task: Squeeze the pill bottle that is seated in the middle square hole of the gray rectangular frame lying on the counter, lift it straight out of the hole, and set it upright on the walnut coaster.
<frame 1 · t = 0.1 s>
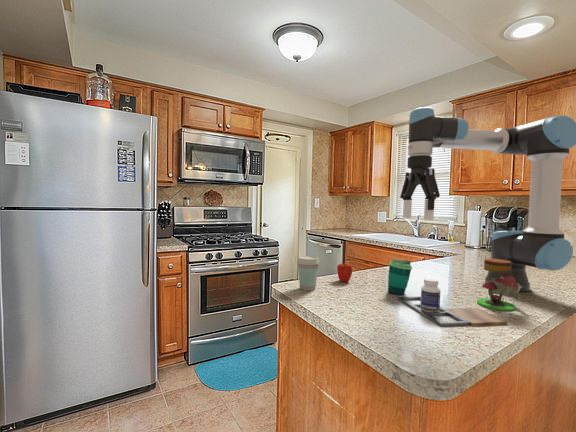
hand: (417, 219, 102), 28 cm above the countertop, fingers open, 13 cm apart
pill bottle: (429, 311, 94), resting in gray rectangular frame
coffee cup: (307, 289, 115), on the countertop
red bell pepper: (344, 281, 127), on the countertop
gray rectangular frame: (429, 310, 93), on the countertop
coaster: (474, 317, 89), on the countertop
mushroom toy: (497, 306, 100), on the countertop
cup: (399, 293, 112), on the countertop
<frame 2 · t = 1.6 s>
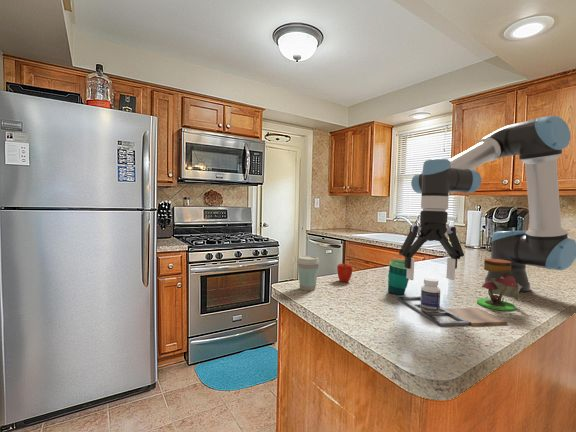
hand: (430, 279, 93), 10 cm above the countertop, fingers open, 13 cm apart
nothing on the countertop moved.
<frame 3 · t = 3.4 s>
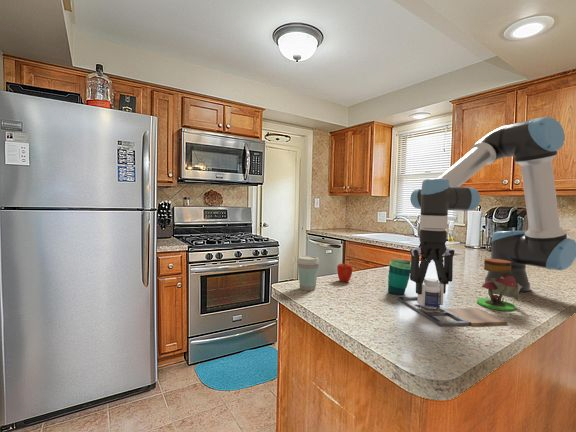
hand: (430, 303, 93), 2 cm above the countertop, fingers closed on pill bottle, 5 cm apart
pill bottle: (429, 311, 94), resting in gray rectangular frame, touching gripper
everything else where it was.
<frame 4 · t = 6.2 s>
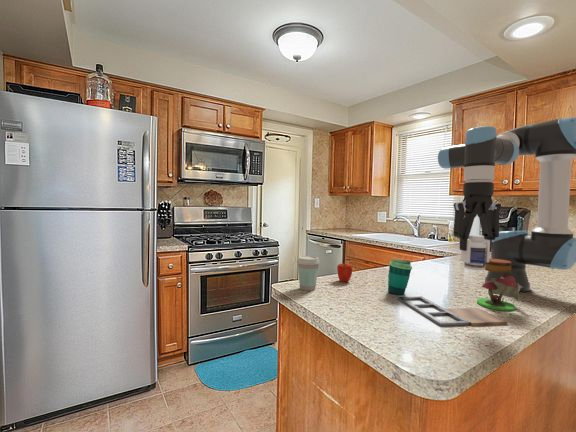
hand: (474, 261, 88), 17 cm above the countertop, fingers closed on pill bottle, 5 cm apart
pill bottle: (474, 269, 88), point 14 cm above the countertop, touching gripper
everything else where it was.
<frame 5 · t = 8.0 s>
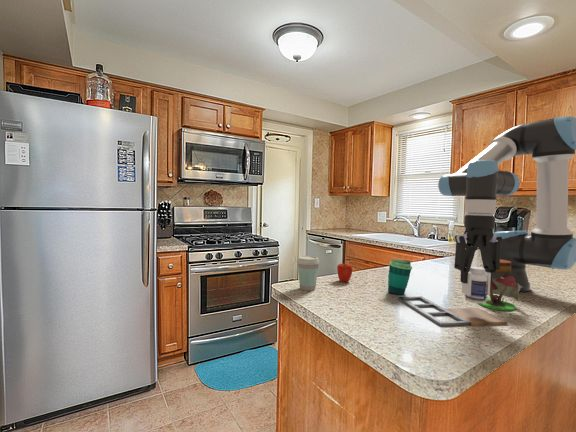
hand: (475, 293, 88), 7 cm above the countertop, fingers closed on pill bottle, 5 cm apart
pill bottle: (475, 301, 88), point 5 cm above the countertop, touching gripper
everything else where it was.
when the fingers open (4 cm above the countertop, at t = 9.3 s): pill bottle drops 1 cm, resting on coaster.
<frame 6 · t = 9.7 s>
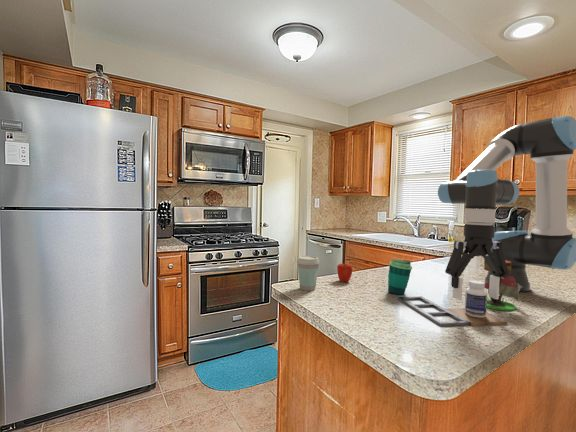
hand: (475, 298, 88), 6 cm above the countertop, fingers open, 11 cm apart
pill bottle: (475, 315, 89), point 1 cm above the countertop, touching coaster
everything else where it was.
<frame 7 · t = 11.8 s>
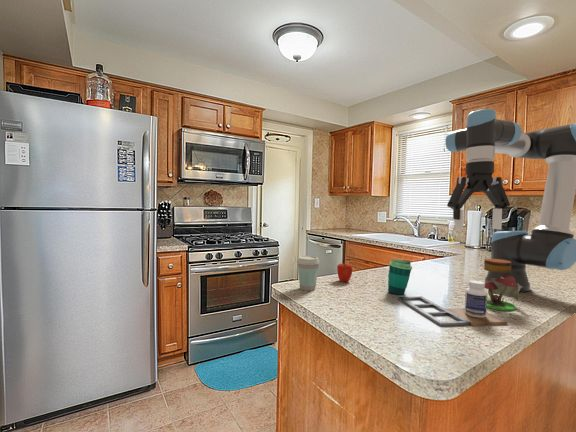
hand: (478, 229, 95), 25 cm above the countertop, fingers open, 13 cm apart
nothing on the countertop moved.
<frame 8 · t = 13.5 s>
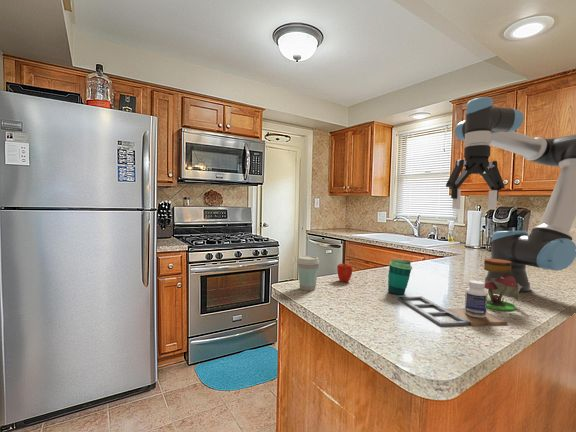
hand: (474, 209, 103), 32 cm above the countertop, fingers open, 13 cm apart
nothing on the countertop moved.
at the end: pill bottle inside the target area (0.2 cm from its centre), point 0.6 cm above the countertop; pill bottle tilted 0°; the gripper is holding nothing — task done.
